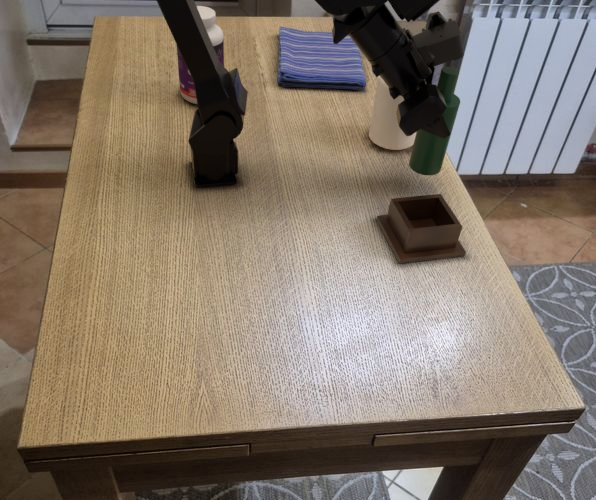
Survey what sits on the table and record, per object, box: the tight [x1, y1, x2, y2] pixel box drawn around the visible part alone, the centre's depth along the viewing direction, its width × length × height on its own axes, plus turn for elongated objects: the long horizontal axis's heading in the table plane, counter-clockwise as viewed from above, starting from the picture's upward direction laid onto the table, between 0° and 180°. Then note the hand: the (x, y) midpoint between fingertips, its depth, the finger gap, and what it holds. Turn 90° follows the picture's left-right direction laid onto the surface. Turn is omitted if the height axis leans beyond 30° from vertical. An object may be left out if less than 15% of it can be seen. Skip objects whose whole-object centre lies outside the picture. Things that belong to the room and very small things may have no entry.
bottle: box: [408, 66, 461, 176], centre depth 90 cm, size 5×5×15 cm
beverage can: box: [368, 75, 416, 151], centre depth 102 cm, size 8×8×12 cm
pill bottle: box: [176, 5, 225, 105], centre depth 107 cm, size 8×8×14 cm
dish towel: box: [277, 26, 367, 91], centre depth 123 cm, size 17×24×3 cm
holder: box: [375, 193, 467, 265], centre depth 88 cm, size 10×10×4 cm
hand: (444, 126), depth 90 cm, fingers closed on bottle, 5 cm apart
